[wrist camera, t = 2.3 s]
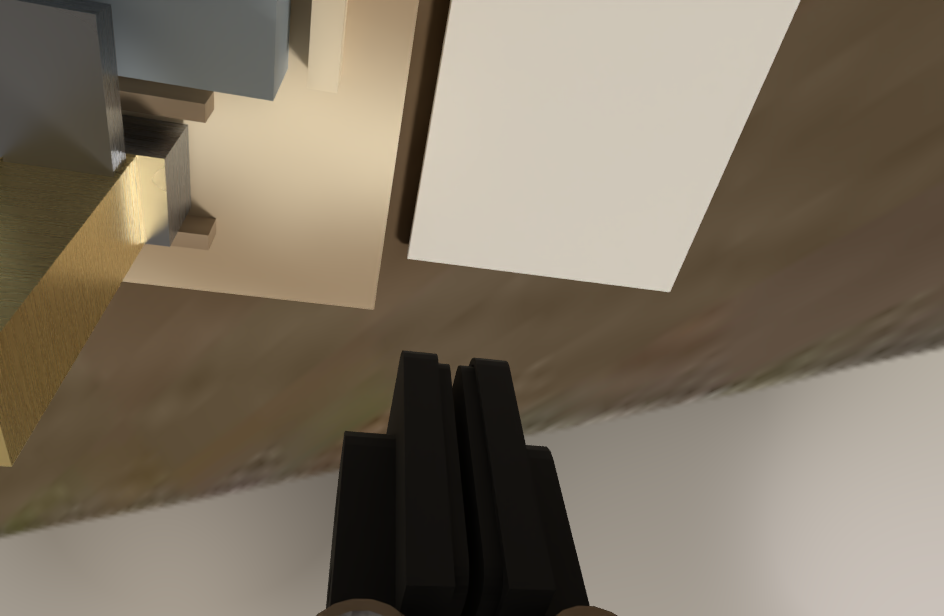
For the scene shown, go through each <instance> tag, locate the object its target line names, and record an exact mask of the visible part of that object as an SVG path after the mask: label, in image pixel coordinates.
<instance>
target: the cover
mask: <svg viewBox="0 0 944 616" xmlns="http://www.w3.org/2000/svg"><path fill="white" fill-rule="evenodd" d="M90 1H95V2H101V3H106V4H111V9H112V20H113V30H114V40H115V50H116V61H117V71H118V76H123V77H129V78H135V79H141V80H147V81H153V82H159V83H165V84H172V85H178V86H184V87H190V88H196V89H202V90H208V91H214V92H220V93H226V94H232V95H239V96H245V97H251V98H257V99H263V100H269V101H274V98H275V96H276V94H277V92H278V89H279V87H280V85H281V83H282V81H283V78H284V76H285V74H286V72H287V69H288V54H289V32H290V10H291V0H90Z"/></svg>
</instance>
